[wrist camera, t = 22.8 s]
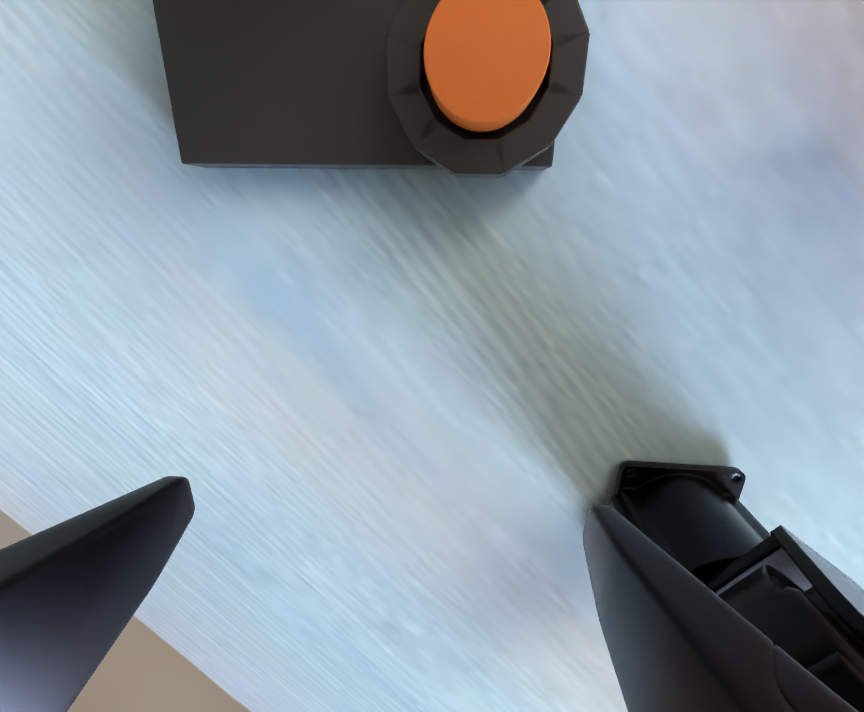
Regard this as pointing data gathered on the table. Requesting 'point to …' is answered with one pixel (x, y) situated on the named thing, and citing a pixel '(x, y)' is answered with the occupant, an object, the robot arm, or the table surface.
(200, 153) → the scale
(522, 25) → the power button
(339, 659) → the table surface
